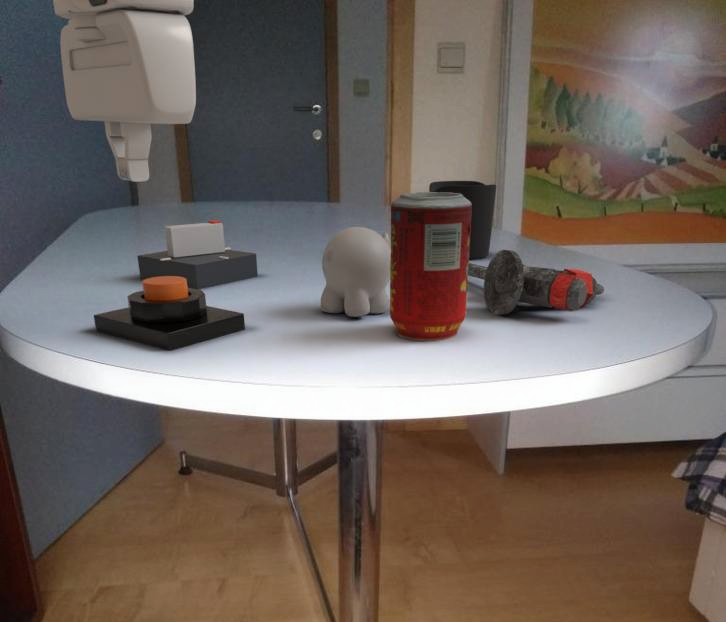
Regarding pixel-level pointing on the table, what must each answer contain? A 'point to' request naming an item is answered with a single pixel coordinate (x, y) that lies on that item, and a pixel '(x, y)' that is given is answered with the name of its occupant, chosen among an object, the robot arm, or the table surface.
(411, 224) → the soda can
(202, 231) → the selector knob
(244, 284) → the table surface
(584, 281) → the valve
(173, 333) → the control block
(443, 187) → the pen holder
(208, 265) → the block
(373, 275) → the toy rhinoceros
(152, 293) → the button
